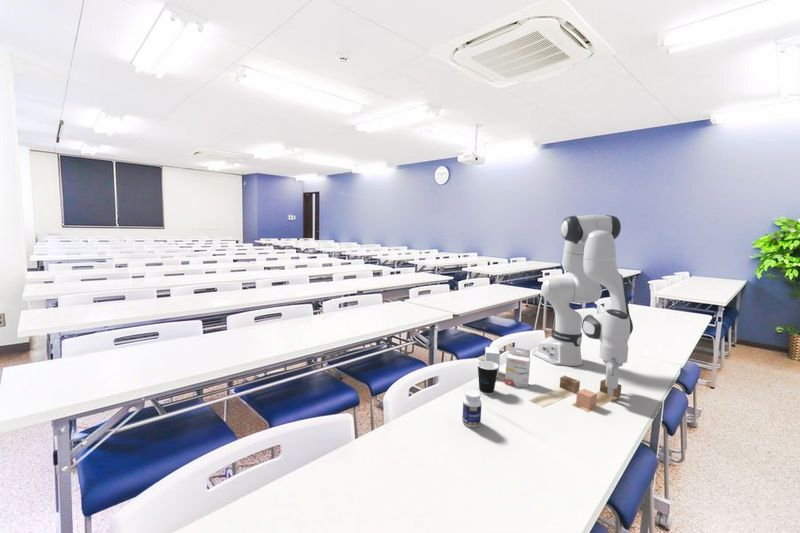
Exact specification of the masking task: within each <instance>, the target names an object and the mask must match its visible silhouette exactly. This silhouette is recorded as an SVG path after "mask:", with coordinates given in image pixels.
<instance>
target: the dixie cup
mask: <svg viewBox="0 0 800 533" xmlns="http://www.w3.org/2000/svg"><path fill="white" fill-rule="evenodd" d="M476 366H477V372H478V373H477V374H478V390H479V393H480V394H484V395H492V394H493V393H494V392H495V387H496V382H497V381H496V380H497V378H496V376H497V370H498V368H499V369H500V364H499V365H498V364H496V363H494V362H491V361H485V360H480V361H478V362H477V363H476Z"/></svg>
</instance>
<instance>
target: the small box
mask: <svg viewBox="0 0 800 533" xmlns="http://www.w3.org/2000/svg"><path fill="white" fill-rule="evenodd" d="M484 349H485V350H484V351H485V352H484V361H491V362H494V363H496V364H498V365H499V366H500V363H501V362H500V360H501V358H500V357H501V353H500V349H499V347H493V346H485V348H484ZM499 378H500V367H499V368H498V370H497V376H496V379H499Z"/></svg>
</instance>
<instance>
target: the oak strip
mask: <svg viewBox="0 0 800 533" xmlns="http://www.w3.org/2000/svg"><path fill="white" fill-rule="evenodd" d="M605 381H606V378H605V379H602V380H600V383H599V391H597V392H595V393H596V394H597V399H596V406H595V407H593V408H591V409H589V410H588V409H586V408H584V407H581V406H579V405H577V404H576V402H574V403H572V404H571V406H573V407H575V408H578V409H580V410H582V411H584V412H587V413H589V412H591V411H593V410H595V409H598V408H600V407H601V406H604V405H605V404H608V403H609V402H610V403H612V402H615V401H616V400H619V399H621V395H622V394H621V393H622V392H621V391H622V384H619V383H618V387H617V389H614V392H613V396H608V395H607V392H608V387H606V385H605Z"/></svg>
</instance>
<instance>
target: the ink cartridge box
mask: <svg viewBox="0 0 800 533" xmlns="http://www.w3.org/2000/svg"><path fill="white" fill-rule="evenodd" d="M505 361H506V364H505V365H506V366H505V374H504V375H505V376H504V377H505V379H504V384H505V385H507V386H513V387H517V388H522V389H524V388H528V386H529V380H530V369H531V368H530V367H531V366H530V365H531V349H527V348H521V347H514V346H509V347H508V354H507V356H506V360H505Z"/></svg>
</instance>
